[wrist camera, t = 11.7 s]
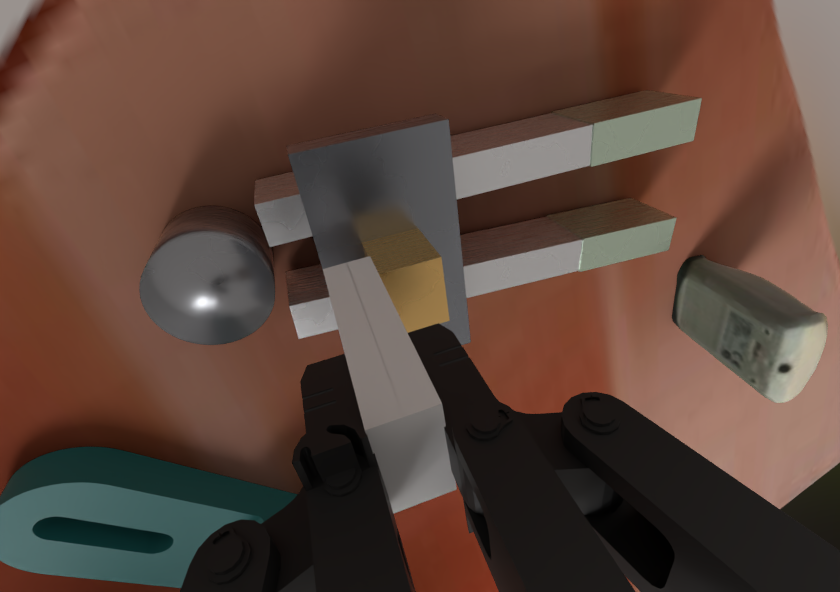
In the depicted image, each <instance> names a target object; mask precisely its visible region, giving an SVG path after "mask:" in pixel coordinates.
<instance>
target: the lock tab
mask: <svg viewBox="0 0 840 592" xmlns="http://www.w3.org/2000/svg"><path fill="white" fill-rule="evenodd" d="M286 148H287V153H288V156H289V160H290V163H291V166H292V170H293V173H294V176H295V179H296V183H297V186H298V189H299V193H300V196H301V199H302V203H303V206H304V209H305V212H306V216H307V219H308V222H309V226H310V229H311V232H312V236H313V239H314V242H315V246H316V249H317V252H318V255H319V259H320V262H321V265H322V269H325V268H328V267H332V266H336V265H339V264H343V263H347V262H350V261H354V260H357V259H361V258H365V257H368V256H370V257H371V259H372V261H373V263H374V265H375V267H376V269H377V271H378V274H379V276H380V278H381V280H382V282H383V284H384V286H385V288H386V290H387V292H388V294H389V296H390V298H391V300H392V302H393V304H394V306H395V308H396V310H397V312H398V314H399V316H400V319H401V321H402V323H403V325H404V327H405V329H406V331H407V333H409V332H412V331H415V330H418V329H422V328H425V327H428V326H431V325H434V324H438V323H439V324H441V325H442V326H444V327H446V328H447V329H449V330H451V331H452V332H453V333H454V334H455V336H456V337H457V339H458V340H459V342H460V344H461V345H463V344H467V343H470V342H471V340H470V330H469V320H468V310H467V300H466V290H465V279H464V269H463V259H462V249H461V239H460V229H459V219H458V209H457V199H456V189H455V179H454V169H453V158H452V148H451V138H450V128H449V119H447V118H445V117H443V116H440V115H438V114H431V115H427V116H422V117H417V118H413V119H408V120H403V121H399V122H394V123H389V124H385V125H380V126H376V127H371V128H366V129H362V130H357V131H352V132H348V133H343V134H338V135H334V136H329V137H325V138H320V139H315V140H311V141H306V142H301V143H297V144H292V145H287V146H286Z"/></svg>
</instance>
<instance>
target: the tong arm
mask: <svg viewBox="0 0 840 592" xmlns="http://www.w3.org/2000/svg"><path fill="white" fill-rule="evenodd" d="M675 222H676V217H674V216H671V215H669V214H667V213H665V212H662V211H660V210H658V209H656V208H653V207H651V206H649V205H647V204H644V203H642V202H640V201H638V200H635V199H633V198H627V199H622V200H617V201H613V202H608V203H603V204H598V205H594V206H589V207H584V208H579V209H575V210H570V211H565V212H560V213H555V214H551V215H547V217H543V218H538V219H533V220H529V221H524V222H519V223H514V224H510V225H505V226H500V227H495V228H491V229H486V230H481V231H477V232H472V233H467V234H462V235H460V239H461V249H462V259H463V269H464V279H465V290H466V298H469V297H473V296H477V295H481V294H485V293H489V292H493V291H497V290H501V289H506V288H510V287H514V286H518V285H522V284H526V283H530V282H534V281H538V280H542V279H547V278H551V277H555V276H559V275H563V274H567V273H571V272H575V271H579V272H582V271H586V270H590V269H594V268H598V267H602V266H606V265H610V264H614V263H618V262H622V261H626V260H631V259H635V258H639V257H643V256H647V255H651V254H655V253H659V252H663V251H667V250H669V246H670V242H671V238H672V234H673V230H674V226H675ZM286 280H287V289H288V299H289V307H290V311H291V314H292V318H293V321H294V324H295V328H296V331H297V335H298V338H299V339H301V338H305V337H309V336H313V335H317V334H321V333H325V332H329V331H333V330H338V326H337V322H336V318H335V314H334V311H333V307H332V303H331V299H330V295H329V291H328V288H327V284H326V280H325V276H324V272H323V269H322V265H321V264H320V265H315V266H310V267H306V268H301V269H296V270H291V271H287V272H286Z"/></svg>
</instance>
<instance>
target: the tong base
mask: <svg viewBox="0 0 840 592" xmlns="http://www.w3.org/2000/svg"><path fill="white" fill-rule="evenodd" d="M701 100H702V98H698V97H691V96H684V95H677V94H671V93H664V92H657V91H650V90H645V91H640V92H636V93H632V94H627V95H623V96H618V97H614V98H609V99H605V100H601V101H596V102H592V103H587V104H583V105H578V106H574V107H570V108H565V109H561V110H556V111H552V112H551V113H550V114H545V115H541V116H536V117H532V118H528V119H523V120H519V121H514V122H510V123H506V124H501V125H497V126H492V127H488V128H484V129H479V130H475V131H470V132H466V133H462V134H457V135H453V136H450V138H451V148H452V158H453V169H454V179H455V189H456V199H461V198H465V197H469V196H472V195H476V194H480V193H484V192H488V191H492V190H496V189H500V188H504V187H508V186H512V185H516V184H520V183H523V182H527V181H531V180H535V179H539V178H543V177H547V176H551V175H555V174H559V173H563V172H567V171H571V170H574V169H578V168H582V167H586V166H590V167H593V166H597V165H601V164H605V163H608V162H612V161H616V160H620V159H624V158H628V157H632V156H636V155H640V154H644V153H648V152H651V151H655V150H659V149H663V148H667V147H671V146H675V145H679V144H683V143H687V142H691V141H694V136H695V131H696V126H697V121H698V115H699V110H700V105H701ZM254 206H255V209H256V211H257V214H258V217H259V219H260V222H261V225H262V228H263V229H262V228H261V227H260V226H259V225H258V224H257V223H256V222H255V221H254V220H252V219H251V218H250V217H248V216H246V215H245V214H243V213H241V212H238V211H236V210H233V209H230V208H226V207H220V206H203V207H197V208H193V209H190V210H187V211H185V212H183V213H181V214H179V215H178V216H176V217H175V218H174V219H173V220H171V221H170V222H169V224H168V225H167V226H166V227H165V229H164V231H163V232H162V234H161V236H160V238H159V240H158V242H157V244H156V246H155V248H154V250H153V252H152V254H151V256H150V258H149V260H148V262H147V264H146V266H145V268H144V271H143V273H142V276H141V280H140V298H141V301H142V304H143V306H144V309H145V311H146V312H147V314H148V315H149V317H150V318H151V319H152V320H153V321H154V322H155V324H156V325H158V326H159V327H160V328H161V329H162V330H164V331H165V332H167V333H169V334H170V335H172V336H174V337H176V338H179V339H181V340H184V341H187V342H191V343H196V344H204V345H218V344H226V343H230V342H234V341H237V340H240V339H242V338H244V337H246V336H248V335H250V334H252V333H253V332H255V331H256V330H257V329H258V328H260V327H261V325H262V324H263V323H264V322H265V321H266V320H267V318H268V317H269V315H270V313H271V311H272V308H273V305H274V300H275V281H274V263H273V251H272V247H273V246H276V245H280V244H284V243H288V242H292V241H296V240H300V239H304V238H308V237H312V232H311V229H310V226H309V222H308V219H307V216H306V212H305V209H304V206H303V203H302V199H301V196H300V193H299V189H298V186H297V183H296V179H295V176H294V173H293V172H290V173H285V174H281V175H276V176H272V177H268V178H263V179H259V180H255V196H254Z"/></svg>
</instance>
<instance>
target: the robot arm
mask: <svg viewBox="0 0 840 592" xmlns="http://www.w3.org/2000/svg"><path fill="white" fill-rule="evenodd" d="M323 272H324V276H325V280H326V284H327V288H328V291H329V295H330V299H331V303H332V307H333V311H334V314H335V318H336V322H337V326H338V330H339V334H340V337H341V341H342V345H343V349H344V353H345V354H342V355H339V356H336V357H333V358H330V359H326V360H323V361H320V362H317V363H314V364H310V365H307V367H306V370H305V372H304V374H303V377H302V379H301V391H302V398H303V409H304V413H305V414H304V418H305V426H306V434H305V435H304V436H303V437H302V438H301V439H300V441H299V443H298V444H297V446H296V448H295V449H294V454H293V460H292V464H293V466H294V468H295V470H296V472H297V474H298V476H299V478H300V480H301V482H302V484H303V488H302V490H301V491H300V492H299V494H298V495H297V496H296V497H295V498H294V499H293V500H292V501H291V502H290V503H289V504H288V505H287V506H285V507H284V508H283V509H281V510H280V511H279V512H277V513H276V514H274V515H273V516H271V517H270V518H269V519H267V520H266V521H264V522H263V523H261V524H260V523H258V522H257V521H255V520H242V519H241V520H237V521H234V522H231V523H228V524H225V525H224V526H223V527H221V528H220V529H218V530H217V531H215V532H214V533H212V534H211V535H210V536H209V537H208V538H207V539H206V540H205V541H204V543H203V544H202V545H201V546H200V547H199V548H198V550H197V551H196V553H195V555H194V557H193V559H192V561H191V563H190V565H189V568H188V570H187V573H186V576H185V579H184V582H183V585H182V587H181V590H180V592H416V591H415V588H414V584H413V581H412V577H411V573H410V570H409V566H408V563H407V559H406V555H405V552H404V548H403V545H402V541H401V538H400V535H399V532H398V529H397V525H396V522H395V518H394V513H396V512H399V511H402V510H404V509H407V508H409V507H412V506H415V505H417V504H420V503H422V502H425V501H428V500H430V499H433V498H436V497H438V496H441V495H443V494H446V493H448V492H451V491H454V490H456V489H457V488H456V483H457V485H458V487H459V490H460V492H461V494H462V496H463V500H464V506H465V513H466V519H467V525H468V530H469V533H472V532H474V534H475V536H476V538H477V541H478V543H479V545H480V548H481V550H482V552H483V555H484V557H485V560H486V562H487V564H488V567H489V569H490V571H491V574H492V576H493V578H494V581H495V583H496V586H497V588H498V590H499V592H635V590H634V589H633V587H632V586H631V584H630V583H629V581H628V580H627V578H628V579H629V580H630V581H631V582H632V583H633V584H634V585H635V586H636V587H637V588H638V589H639V590H640V591H641V592H840V551H839V550H838V549H836V548H835V547H833V546H832V545H831V544H829V543H828V542H826V541H824V540H823V539H822V538H820V537H819V536H817V535H816V534H814V533H813V532H812V531H810V530H809V529H807V528H806V527H804V526H803V525H801V524H800V523H798V522H797V521H796V520H794V519H793V518H791V517H790V516H788V515H787V514H786V513H784V512H783V511H781V510H780V509H778V508H777V507H775V506H774V505H772V504H771V503H770V502H768V501H767V500H765V499H764V498H762V497H761V496H759V495H758V494H757V493H755V492H754V491H752V490H751V489H749V488H748V487H746V486H745V485H743V484H742V483H741V482H739V481H738V480H736V479H735V478H733V477H732V476H730V475H729V474H727V473H726V472H725V471H723V470H722V469H720V468H719V467H717V466H716V465H714V464H713V463H712V462H710V461H709V460H707V459H706V458H704V457H703V456H701V455H700V454H698V453H697V452H696V451H694V450H693V449H691V448H690V447H688V446H687V445H685V444H684V443H682V442H681V441H680V440H678V439H677V438H675V437H674V436H672V435H671V434H669V433H668V432H667V431H665V430H664V429H662V428H661V427H659V426H658V425H656V424H655V423H653V422H652V421H651V420H649V419H648V418H646V417H645V416H643V415H642V414H640V413H639V412H638V411H636V410H635V409H633V408H632V407H630V406H629V405H627V404H626V403H624V402H623V401H621V400H619V399H617V398H615V397H613V396H611V395H608V394H603V393H598V392H589V393H581V394H579V395H576V396H574V397H571V398H570V399H569V401H568V402H567V403H566V404H565V405H564V407H563V411H562V412H561V413H545V414H525V413H521V412H516V411H514V410H512V409H511V408H510V407H509V406H507V405H505V404H503V403H500V402H499V401H498V400H497V399H496V398H495V396H494V395H493V393H492V392H491V390H490V389H489V387H488V386H487V384H486V382H485V381H484V379H483V378H482V376H481V375H480V373H479V372H478V370H477V368H476V367H475V365H474V364H473V362H472V361H471V359H470V358H469V357H468V354H467V353H466V351H465V350H464V348H463V347H462V346H461V344H460V342H459V340H458V339H457V337H456V336H455V334H454V333H453V332H452V331H451V330H449V329H447V328H446V327H444V326H442V325H441V324H439V323H438V324H434V325H431V326H428V327H425V328H422V329H418V330H415V331H412V332H409V333H407V331H406V329H405V327H404V325H403V323H402V321H401V319H400V316H399V314H398V312H397V310H396V308H395V306H394V304H393V302H392V300H391V298H390V296H389V294H388V292H387V290H386V288H385V286H384V284H383V282H382V280H381V278H380V276H379V274H378V271H377V269H376V267H375V265H374V263H373V261H372V259H371V257H370V256H368V257H365V258H361V259H357V260H354V261H350V262H347V263H343V264H339V265H336V266H332V267H328V268H325V269H323ZM455 480H456V482H455ZM625 576H626V577H627V578H626V577H625Z"/></svg>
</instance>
